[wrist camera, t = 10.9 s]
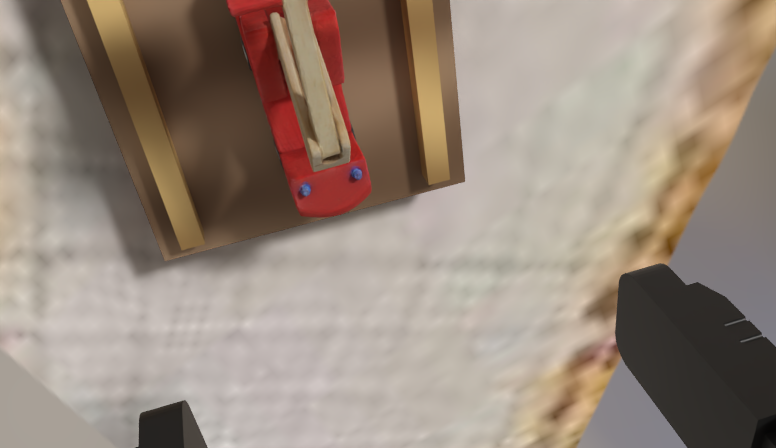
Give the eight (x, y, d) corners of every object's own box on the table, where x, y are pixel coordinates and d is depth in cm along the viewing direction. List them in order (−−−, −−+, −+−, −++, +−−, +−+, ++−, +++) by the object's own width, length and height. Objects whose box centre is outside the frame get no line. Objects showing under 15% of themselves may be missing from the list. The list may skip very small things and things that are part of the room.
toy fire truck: (285, 185, 32) (329, 331, 24) (177, -163, 24) (190, -111, 16) (359, 163, 32) (425, 300, 24) (276, -187, 24) (337, -147, 16)
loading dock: (-6, -214, 24) (-30, -206, 21) (399, -284, 26) (435, -285, 23) (164, 224, 35) (165, 274, 31) (444, 151, 37) (472, 192, 33)
